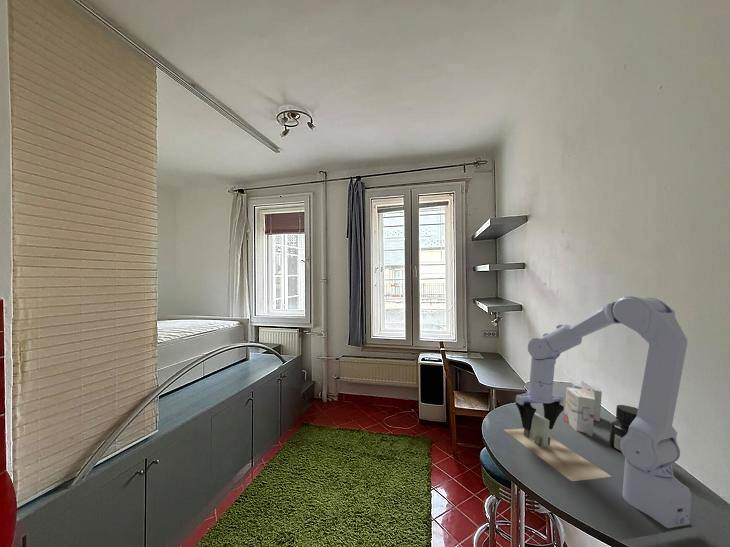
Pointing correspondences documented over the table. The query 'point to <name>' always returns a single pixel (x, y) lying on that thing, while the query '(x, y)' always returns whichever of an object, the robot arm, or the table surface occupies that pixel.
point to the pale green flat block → (540, 428)
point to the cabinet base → (561, 458)
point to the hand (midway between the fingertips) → (537, 428)
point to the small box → (597, 399)
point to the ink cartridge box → (580, 408)
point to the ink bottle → (621, 425)
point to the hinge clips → (537, 439)
